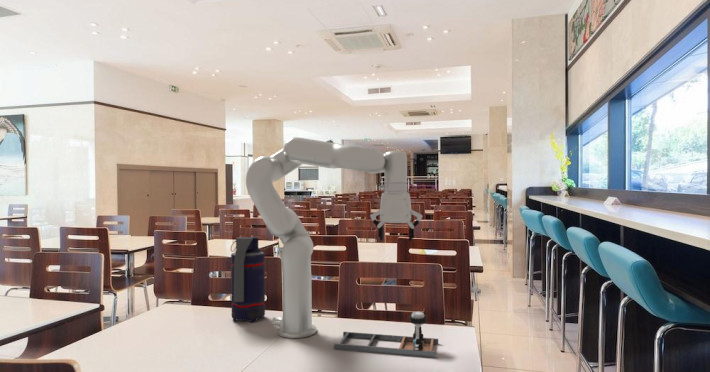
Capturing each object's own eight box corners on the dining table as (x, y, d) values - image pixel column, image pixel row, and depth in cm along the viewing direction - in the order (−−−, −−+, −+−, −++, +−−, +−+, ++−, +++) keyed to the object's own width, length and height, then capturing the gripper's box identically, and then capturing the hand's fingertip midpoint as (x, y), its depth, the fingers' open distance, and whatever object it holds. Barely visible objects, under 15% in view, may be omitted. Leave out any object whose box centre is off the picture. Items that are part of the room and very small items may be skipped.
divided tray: (333, 348, 129) (333, 343, 129) (343, 336, 140) (343, 331, 140) (436, 357, 122) (436, 352, 122) (438, 343, 133) (438, 338, 133)
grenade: (240, 313, 167) (240, 234, 167) (270, 314, 164) (269, 235, 164) (222, 324, 153) (222, 239, 153) (254, 326, 151) (253, 239, 151)
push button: (425, 352, 125) (425, 317, 125) (407, 350, 127) (406, 316, 127) (428, 344, 132) (427, 311, 132) (410, 342, 133) (410, 310, 133)
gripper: (367, 188, 143) (368, 240, 143) (421, 188, 139) (421, 242, 139) (372, 188, 150) (372, 238, 150) (423, 188, 146) (423, 239, 146)
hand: (396, 240), depth 145 cm, fingers open, 9 cm apart
